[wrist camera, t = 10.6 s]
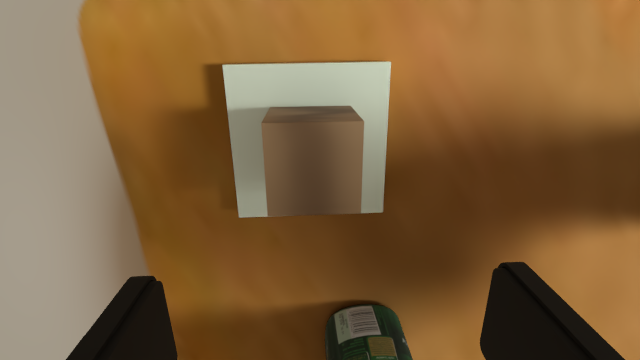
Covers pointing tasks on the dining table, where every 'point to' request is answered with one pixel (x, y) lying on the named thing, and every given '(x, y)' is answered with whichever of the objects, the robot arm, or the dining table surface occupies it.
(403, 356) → the coffee jar
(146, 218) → the dining table surface
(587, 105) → the dining table surface
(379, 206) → the plate
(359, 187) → the walnut cube
